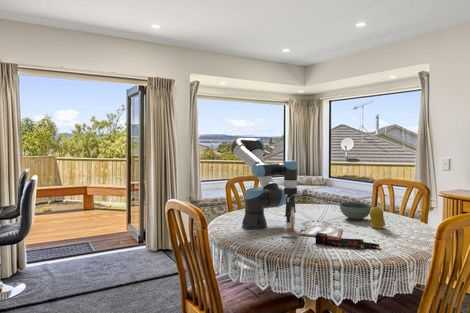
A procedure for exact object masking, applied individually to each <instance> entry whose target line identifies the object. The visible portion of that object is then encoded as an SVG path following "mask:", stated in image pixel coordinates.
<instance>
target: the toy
mask: <svg viewBox="0 0 470 313" xmlns="http://www.w3.org/2000/svg"><path fill="white" fill-rule="evenodd" d="M314 244H315V245H320V246H326V245H333V246H338V247H344V248H352V249H357V250H358V249H359V250H364V249H367V248H368V249H369V250H375V249H378V250H377V251H380V250H381V249H380V243H374V242H365V241H364V238H363V239H362V238H345V237H344V238H343V237H340V238H337V237H330V236H327V234H325V233H318V232H317V234H316V237H315V243H314Z"/></svg>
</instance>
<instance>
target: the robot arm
mask: <svg viewBox="0 0 470 313" xmlns="http://www.w3.org/2000/svg"><path fill="white" fill-rule="evenodd" d="M230 152H231V154H232V155H233V156H234V157H235V158H237V159H238V158H239V159H240V160H241V161H242V162H243V163H245V164H246V166H248V167H249V168H250V169H251V172H252V175H253V177H257V179H258V181H259V183H260V186H257V187H250V188H248V189H246V190H245V191H244V216H243V218H242V222H241V224H242V225H241V226H242V228H244V229H248V230H249V229H250V230H261V229H265V228H267V227H268V223H267V219H266V216H265V209H270V208H281V207H282V206H283V205H284V206H285V214H284V217H285V219H286V220H285V225H286V229H287V228H291V208H292V206H293V207H294V225H295V224H296V222H295V221H296V216H295V214H296V213H297V211H296V195H297V194H298V188H297V187H298V184H299V181H298V162H297V161H296V160H293V159H292V160H288V159H287V160H284V162H283V163H282V162H275V163H266V160H265V158H264V156H263V155H264V152H265V143H264V142H263V140H262V139H260V138H259V137H257V138H256V137H252V138H251V137H250V138H248V137H246V138H245V137H244V138H243V137H240V138H237V139H235V140H233V141H232V143H231V146H230ZM278 176H280V177H281V176H282V177H283V187H284V188H283V187H280V186H279V184H278V183H276V182H275V181H274V178H273V177H278Z"/></svg>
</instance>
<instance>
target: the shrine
mask: <svg viewBox="0 0 470 313" xmlns="http://www.w3.org/2000/svg"><path fill="white" fill-rule="evenodd" d="M368 216H370V217H369V218H370V227H371V228H372V229H377V230H378V229H381V228H382V229H383V228H384V227H385V226H386V221H385V217H384V210H383V209H382V208H381V207H380V206H378V205H376V204H374V205H372V208H371V209H370V213H369V215H368Z"/></svg>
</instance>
